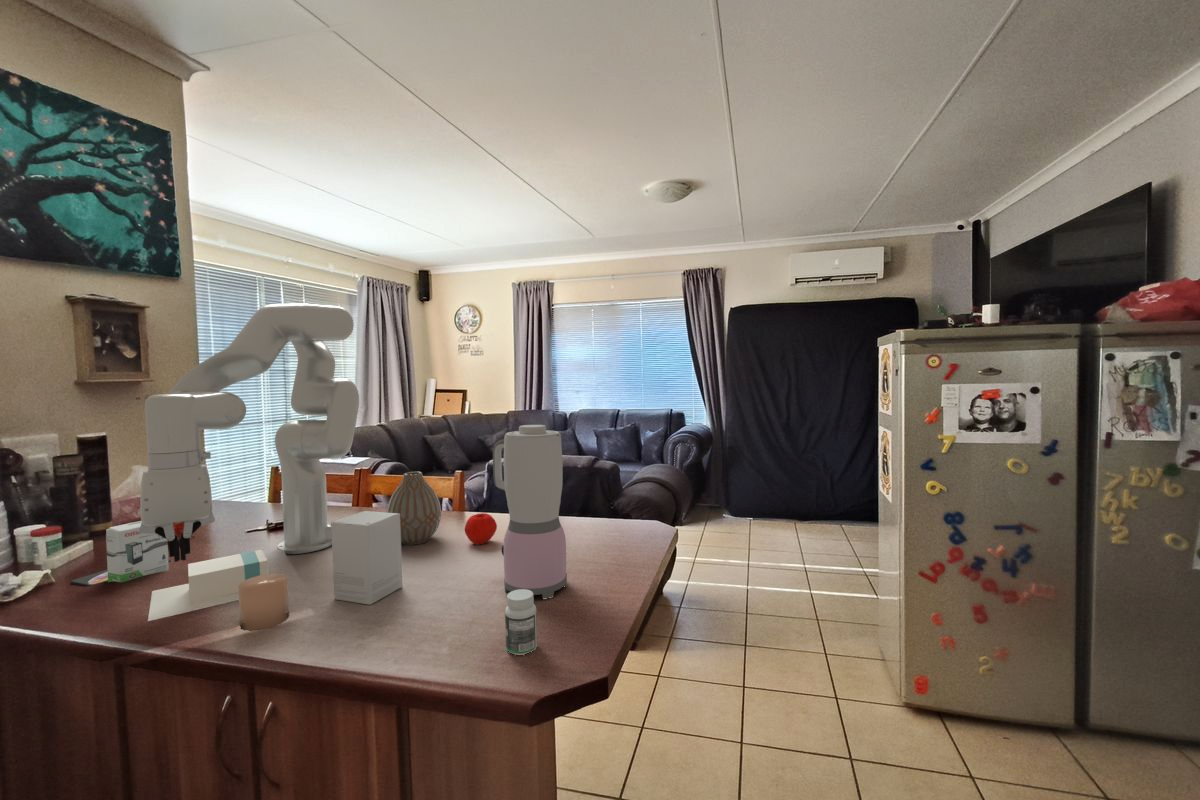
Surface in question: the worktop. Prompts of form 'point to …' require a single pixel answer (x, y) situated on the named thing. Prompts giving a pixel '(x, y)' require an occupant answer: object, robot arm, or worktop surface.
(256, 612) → the beige pillar candle
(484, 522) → the apple
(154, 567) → the ink box
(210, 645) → the worktop surface
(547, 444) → the blender
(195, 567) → the carton
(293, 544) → the robot arm
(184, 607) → the white flat sheet
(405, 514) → the vase
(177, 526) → the pomegranate
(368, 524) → the supplement box
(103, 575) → the smartphone
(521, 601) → the pill bottle
